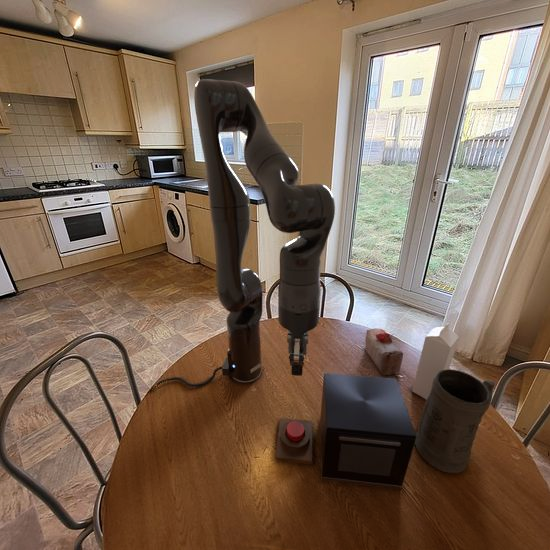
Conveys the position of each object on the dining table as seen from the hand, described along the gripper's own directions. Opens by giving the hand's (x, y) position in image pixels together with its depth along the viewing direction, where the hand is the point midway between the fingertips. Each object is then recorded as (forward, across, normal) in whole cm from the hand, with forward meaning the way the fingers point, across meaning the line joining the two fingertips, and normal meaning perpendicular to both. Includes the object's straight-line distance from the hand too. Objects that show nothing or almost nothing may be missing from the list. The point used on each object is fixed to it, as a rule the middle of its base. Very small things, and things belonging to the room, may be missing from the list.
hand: (296, 373), depth 60 cm
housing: (+21, 0, 0) cm, 21 cm away
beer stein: (+21, -3, +35) cm, 41 cm away
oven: (+21, +1, +14) cm, 25 cm away
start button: (+18, 0, 0) cm, 18 cm away
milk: (+21, -19, +36) cm, 46 cm away
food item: (+21, -31, +26) cm, 46 cm away
